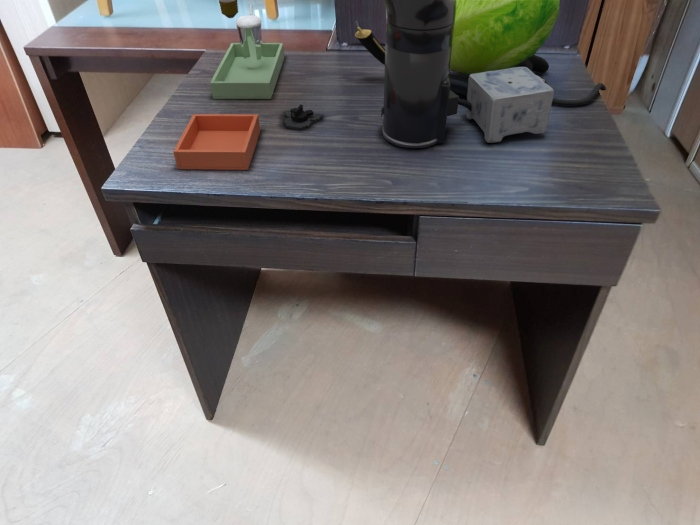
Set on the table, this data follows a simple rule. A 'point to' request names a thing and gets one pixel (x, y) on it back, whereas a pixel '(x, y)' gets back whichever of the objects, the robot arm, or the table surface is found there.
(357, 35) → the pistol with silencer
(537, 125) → the incense holder
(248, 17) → the milkshake cup
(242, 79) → the green tray
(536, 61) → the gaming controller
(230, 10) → the light bulb
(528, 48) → the lettuce
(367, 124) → the table surface
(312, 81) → the table surface
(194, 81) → the table surface
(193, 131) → the terracotta tray
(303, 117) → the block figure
